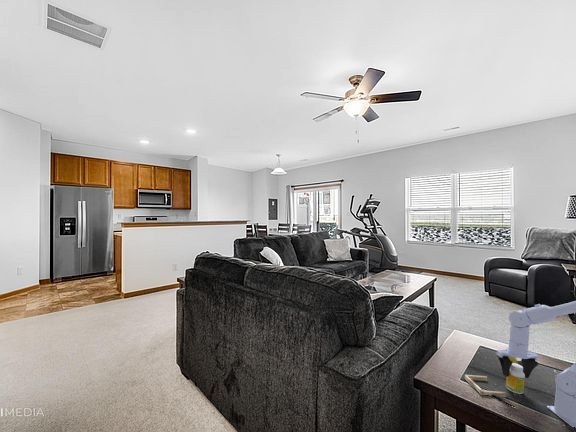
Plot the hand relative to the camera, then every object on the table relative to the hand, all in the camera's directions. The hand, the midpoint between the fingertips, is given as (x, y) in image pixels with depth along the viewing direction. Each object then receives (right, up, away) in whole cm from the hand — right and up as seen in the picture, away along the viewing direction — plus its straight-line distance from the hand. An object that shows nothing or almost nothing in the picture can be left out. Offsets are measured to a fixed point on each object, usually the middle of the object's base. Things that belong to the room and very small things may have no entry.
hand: (515, 375), depth 107 cm
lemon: (+8, -6, +13) cm, 16 cm away
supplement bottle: (0, -6, 0) cm, 6 cm away
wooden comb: (-12, -6, -6) cm, 14 cm away
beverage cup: (+21, -7, +26) cm, 34 cm away
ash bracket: (-11, -5, 0) cm, 12 cm away
